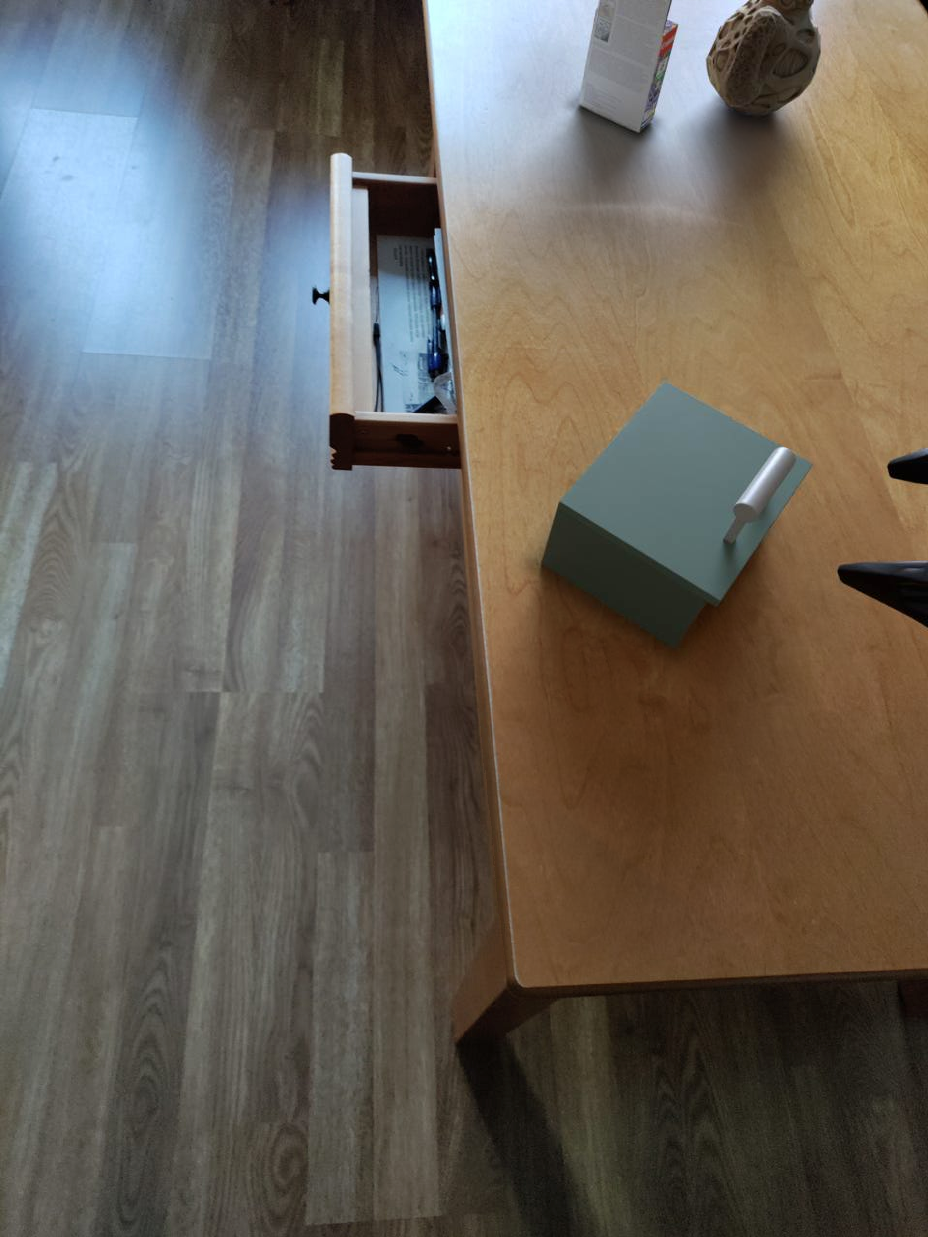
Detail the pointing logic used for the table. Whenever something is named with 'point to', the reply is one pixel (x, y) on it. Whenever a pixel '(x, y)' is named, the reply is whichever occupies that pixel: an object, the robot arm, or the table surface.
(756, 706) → the table surface
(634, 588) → the bin
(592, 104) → the ink box
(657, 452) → the bin lid
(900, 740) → the table surface
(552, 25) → the table surface
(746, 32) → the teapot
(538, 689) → the table surface
